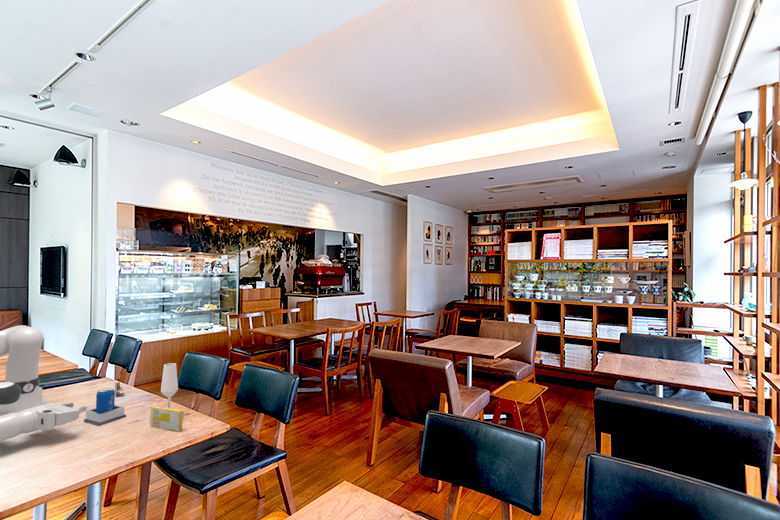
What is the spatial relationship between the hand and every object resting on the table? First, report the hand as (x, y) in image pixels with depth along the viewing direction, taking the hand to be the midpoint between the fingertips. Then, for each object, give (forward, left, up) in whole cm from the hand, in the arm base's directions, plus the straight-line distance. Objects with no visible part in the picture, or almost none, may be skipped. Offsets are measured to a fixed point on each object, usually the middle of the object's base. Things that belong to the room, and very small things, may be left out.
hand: (79, 406), depth 160 cm
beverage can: (0, +10, -8) cm, 13 cm away
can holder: (0, +10, -9) cm, 14 cm away
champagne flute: (+25, +22, -9) cm, 35 cm away
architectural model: (-29, +32, -10) cm, 45 cm away
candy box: (+33, +15, -9) cm, 37 cm away
